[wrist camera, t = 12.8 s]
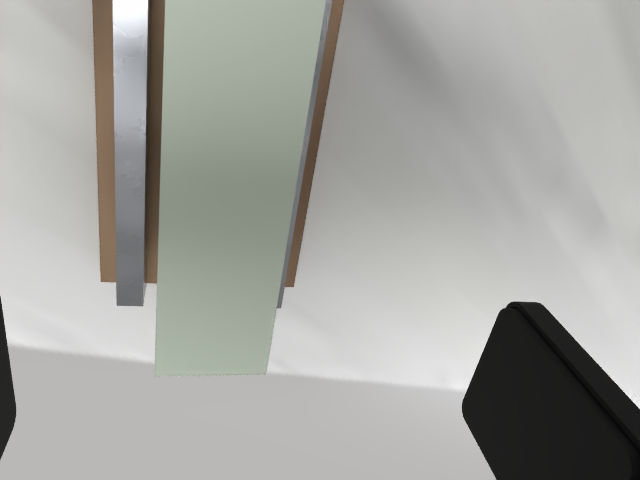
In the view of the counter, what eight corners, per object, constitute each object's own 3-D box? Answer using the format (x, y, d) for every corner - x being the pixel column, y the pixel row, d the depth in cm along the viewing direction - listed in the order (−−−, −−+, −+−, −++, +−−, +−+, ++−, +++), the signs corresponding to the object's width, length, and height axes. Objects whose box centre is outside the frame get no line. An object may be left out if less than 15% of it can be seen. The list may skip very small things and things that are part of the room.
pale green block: (281, -48, 21) (333, -45, 13) (245, 253, 27) (266, 374, 19) (178, -69, 20) (167, -79, 12) (166, 249, 26) (154, 376, 18)
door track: (353, -88, 21) (374, -93, 19) (290, 277, 29) (299, 308, 27) (92, -148, 19) (76, -163, 16) (103, 271, 27) (94, 305, 24)
